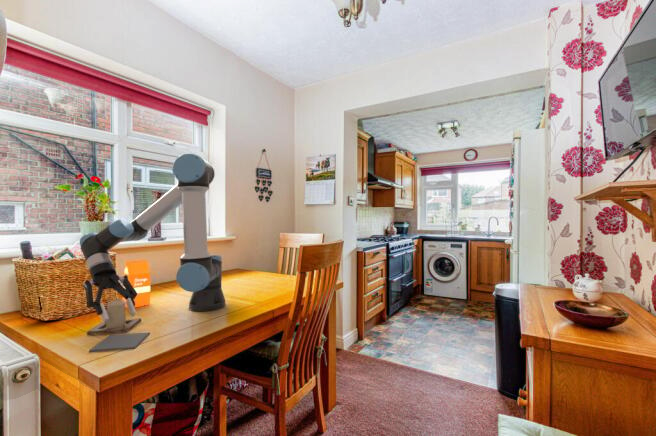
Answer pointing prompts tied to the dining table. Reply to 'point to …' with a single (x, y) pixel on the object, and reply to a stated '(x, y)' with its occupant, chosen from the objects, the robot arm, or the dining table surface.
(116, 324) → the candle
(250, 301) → the dining table surface
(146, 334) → the charcoal mat
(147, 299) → the orange juice
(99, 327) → the grey square frame
